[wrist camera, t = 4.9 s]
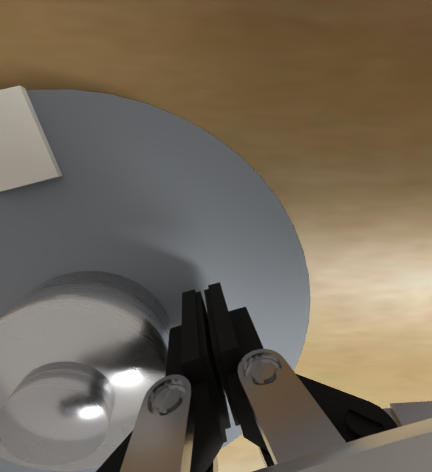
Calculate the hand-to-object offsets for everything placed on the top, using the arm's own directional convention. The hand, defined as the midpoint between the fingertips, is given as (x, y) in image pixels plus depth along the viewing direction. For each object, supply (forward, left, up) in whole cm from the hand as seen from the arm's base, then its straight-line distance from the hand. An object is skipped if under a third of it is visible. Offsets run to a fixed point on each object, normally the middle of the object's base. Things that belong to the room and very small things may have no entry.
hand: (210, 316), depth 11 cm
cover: (+5, 0, -1) cm, 5 cm away
